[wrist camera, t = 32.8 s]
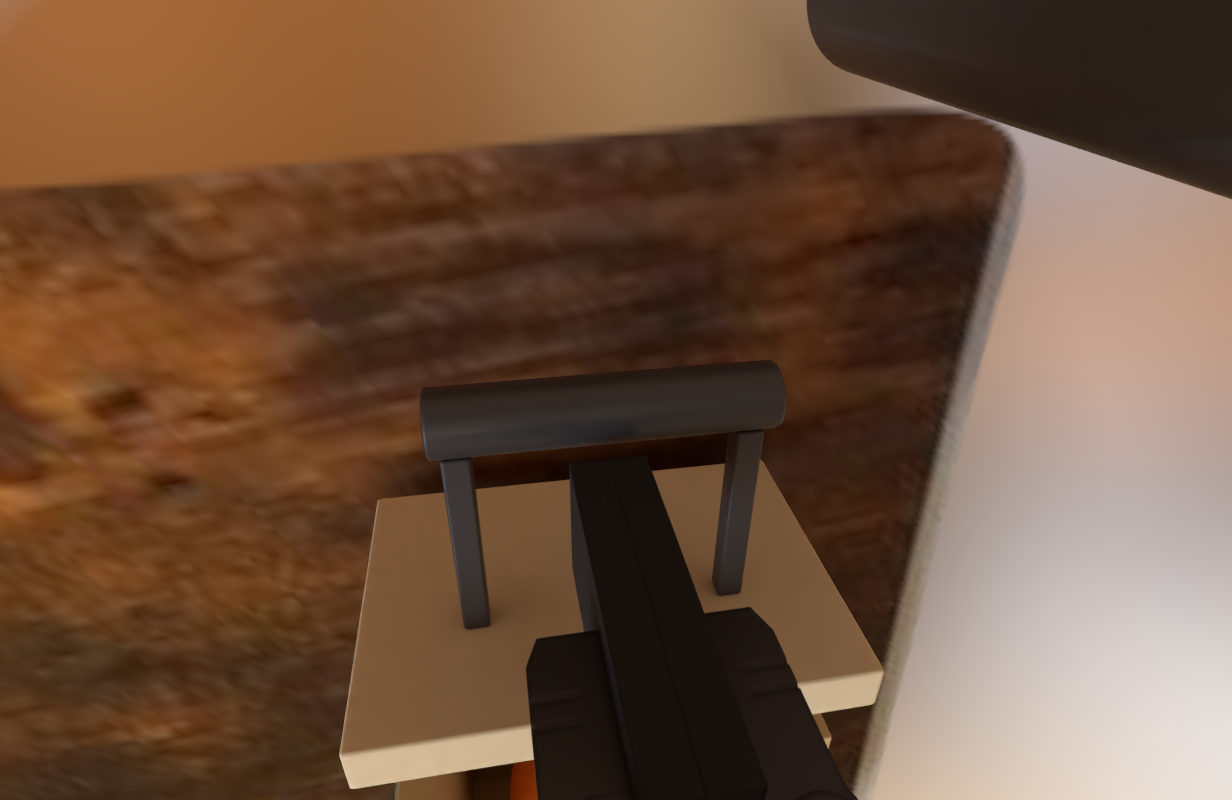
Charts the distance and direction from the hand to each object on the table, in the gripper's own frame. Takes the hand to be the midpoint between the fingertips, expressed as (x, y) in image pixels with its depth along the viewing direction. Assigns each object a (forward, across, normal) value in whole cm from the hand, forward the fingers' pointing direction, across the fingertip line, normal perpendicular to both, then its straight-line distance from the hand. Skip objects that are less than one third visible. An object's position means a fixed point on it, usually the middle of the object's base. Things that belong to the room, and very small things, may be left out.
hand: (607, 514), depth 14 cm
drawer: (+6, 0, -7) cm, 9 cm away
